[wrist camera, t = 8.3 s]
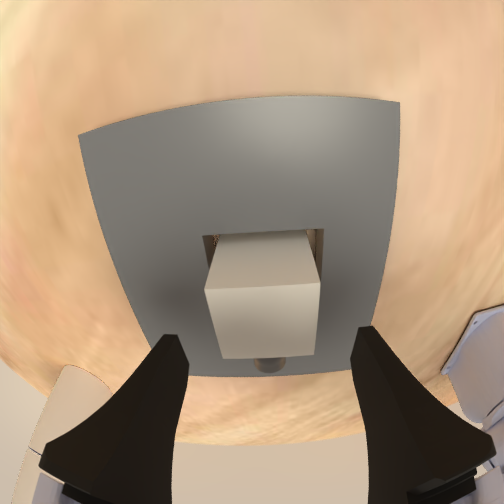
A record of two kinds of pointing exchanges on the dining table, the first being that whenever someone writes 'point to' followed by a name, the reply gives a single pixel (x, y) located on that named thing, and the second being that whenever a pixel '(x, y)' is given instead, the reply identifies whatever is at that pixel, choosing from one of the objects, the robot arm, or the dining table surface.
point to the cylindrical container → (59, 422)
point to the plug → (264, 297)
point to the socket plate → (247, 210)
